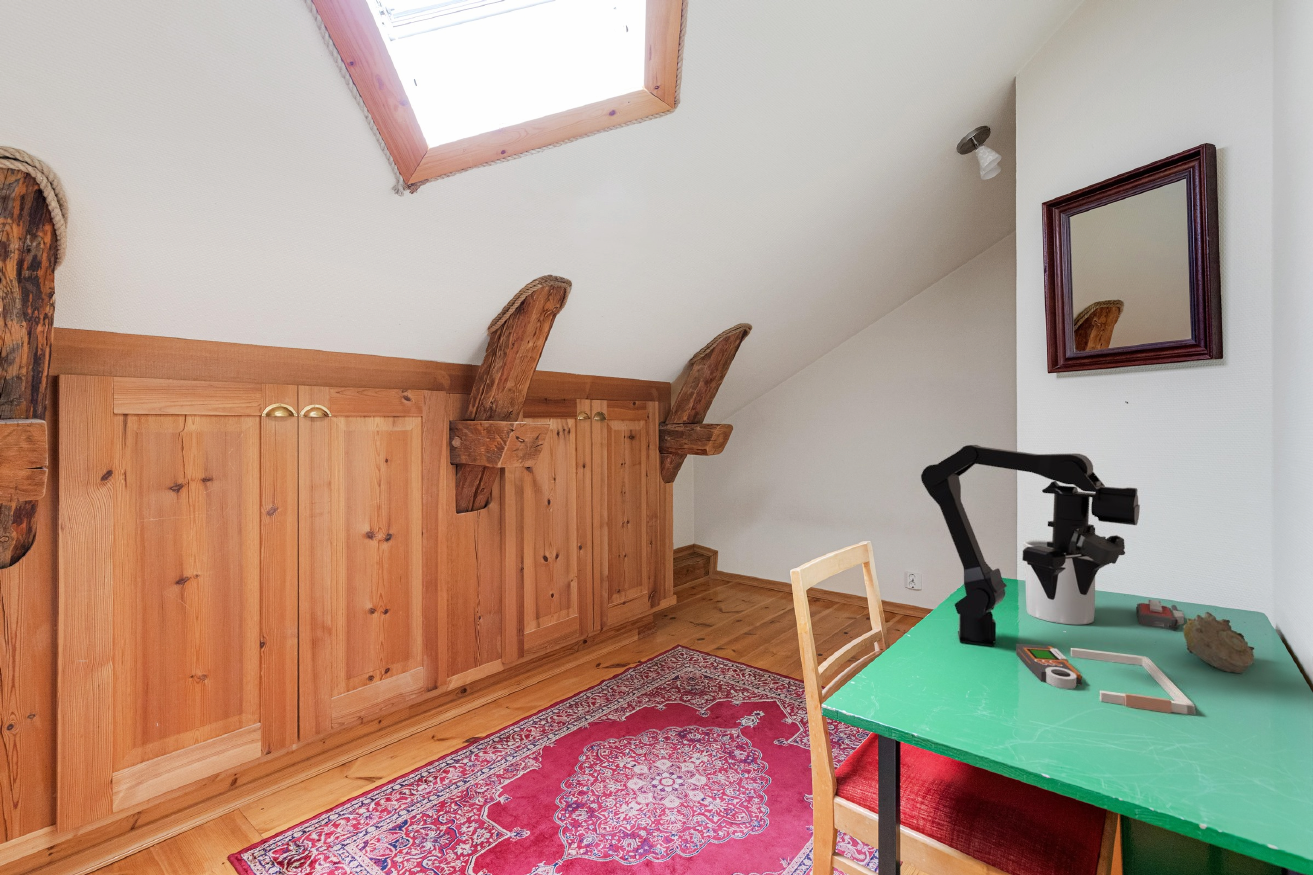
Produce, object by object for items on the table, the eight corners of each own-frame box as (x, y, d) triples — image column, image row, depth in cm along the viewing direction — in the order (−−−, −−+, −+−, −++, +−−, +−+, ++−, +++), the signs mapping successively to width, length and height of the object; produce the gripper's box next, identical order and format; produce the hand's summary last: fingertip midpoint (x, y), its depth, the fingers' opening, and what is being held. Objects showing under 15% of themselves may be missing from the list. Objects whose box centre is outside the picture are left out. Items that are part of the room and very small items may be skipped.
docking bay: (1102, 702, 102) (1102, 691, 102) (1070, 654, 123) (1070, 645, 123) (1196, 716, 97) (1196, 704, 97) (1147, 664, 118) (1147, 654, 118)
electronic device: (1047, 675, 108) (1015, 641, 123) (1046, 691, 108) (1015, 655, 123) (1089, 679, 107) (1053, 643, 121) (1089, 695, 107) (1052, 658, 122)
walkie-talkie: (1188, 636, 135) (1179, 612, 151) (1189, 616, 134) (1179, 594, 151) (1138, 628, 140) (1134, 606, 156) (1138, 609, 140) (1134, 589, 156)
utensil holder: (1010, 612, 150) (1011, 542, 149) (1042, 603, 158) (1043, 536, 157) (1076, 630, 137) (1077, 553, 137) (1107, 618, 145) (1109, 546, 144)
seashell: (1184, 674, 116) (1187, 624, 115) (1176, 644, 128) (1179, 598, 127) (1265, 690, 110) (1269, 638, 109) (1249, 656, 122) (1253, 609, 120)
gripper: (1079, 528, 107) (1076, 615, 108) (1147, 522, 114) (1143, 604, 115) (1021, 517, 118) (1018, 597, 119) (1086, 513, 125) (1083, 587, 125)
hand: (1067, 596), depth 119 cm, fingers open, 9 cm apart
